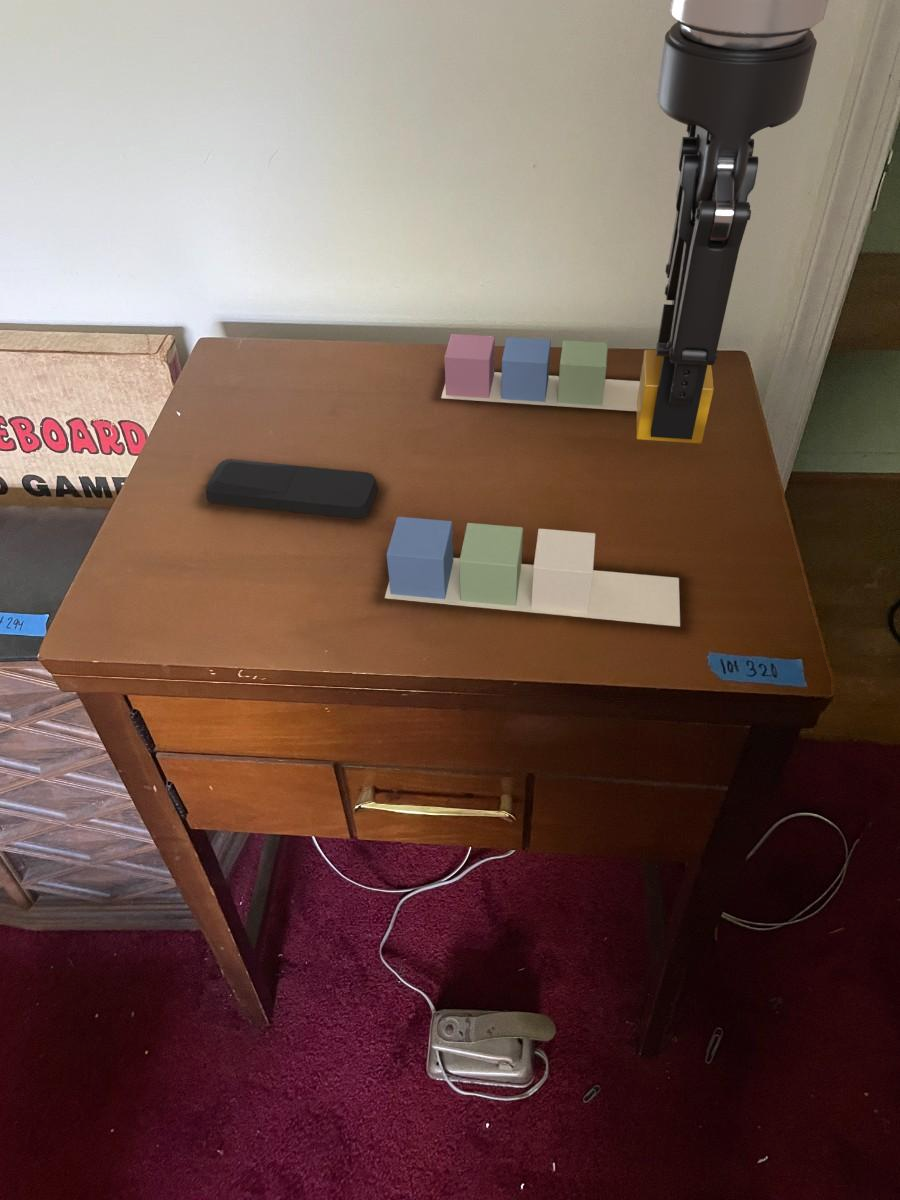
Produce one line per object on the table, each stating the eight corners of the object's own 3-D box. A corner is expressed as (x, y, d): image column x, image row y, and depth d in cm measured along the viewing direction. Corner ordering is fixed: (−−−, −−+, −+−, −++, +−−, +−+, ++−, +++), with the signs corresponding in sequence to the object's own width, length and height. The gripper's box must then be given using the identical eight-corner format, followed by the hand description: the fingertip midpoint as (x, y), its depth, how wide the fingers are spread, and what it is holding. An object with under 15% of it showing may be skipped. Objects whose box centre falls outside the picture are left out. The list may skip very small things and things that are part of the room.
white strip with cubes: (678, 578, 72) (687, 537, 69) (679, 626, 68) (689, 585, 65) (397, 553, 75) (393, 512, 71) (384, 598, 71) (380, 557, 68)
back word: (673, 384, 91) (680, 344, 88) (674, 413, 87) (681, 373, 84) (449, 370, 94) (448, 331, 90) (441, 398, 90) (439, 358, 87)
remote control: (380, 488, 81) (222, 468, 83) (379, 473, 80) (219, 452, 82) (367, 524, 78) (203, 502, 80) (366, 509, 77) (199, 487, 78)
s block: (698, 406, 64) (710, 352, 61) (701, 444, 61) (714, 389, 58) (636, 403, 65) (644, 348, 61) (636, 439, 62) (644, 384, 58)
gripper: (663, -20, 52) (617, 343, 69) (670, 81, 40) (613, 489, 57) (798, -19, 51) (718, 348, 68) (846, 85, 39) (734, 498, 56)
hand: (670, 412), depth 62 cm, fingers closed on s block, 4 cm apart
